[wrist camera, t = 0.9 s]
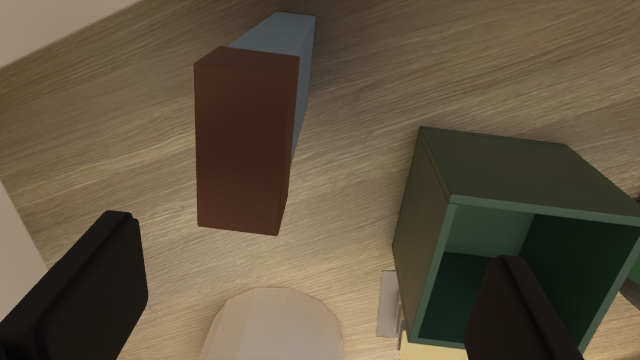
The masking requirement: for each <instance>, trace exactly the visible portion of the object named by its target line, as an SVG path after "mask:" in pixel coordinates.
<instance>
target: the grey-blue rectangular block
mask: <svg viewBox="0 0 640 360" xmlns="http://www.w3.org/2000/svg"><path fill="white" fill-rule="evenodd" d="M315 22H316V17H315V16H309V15H301V14H293V13H285V12H278V11H277V12H275V13H274V14H272V15H271V16H269V17H268V18H266V19H265V20H263V21H262V22H261V23H259V24H258V25H256V26H255V27H253V28H252V29H251V30H249V31H248V32H246V33H245V34H243V35H242V36H240V37H239V38H238V39H236V40H235V41H233V42H232V43H230V44H229V45H228V46H226V47H231V48H239V49H247V50H255V51H263V52H271V53H279V54H287V55H295V56H299V57H300V65H299V76H298V87H297V98H296V109H295V120H294V132H293V143H292V154H291V163H292V160H293V156H294V152H295V148H296V145H297V141H298V137H299V134H300V130H301V126H302V123H303V119H304V115H305V111H306V108H307V100H308V90H309V81H310V71H311V61H312V52H313V42H314V32H315ZM290 167H291V165H290Z"/></svg>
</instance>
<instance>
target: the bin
mask: <svg viewBox="0 0 640 360" xmlns="http://www.w3.org/2000/svg"><path fill="white" fill-rule="evenodd" d="M392 250H393V256H394V262H395V268H396V274H397V280H398V286H399V293H400V299H401V305H402V311H403V317H404V323H405V329H406V335H407V341H408V343H414V344H422V345H430V346H438V347H446V348H454V349H462V350H466V349H465V346H464V341H463V334H464V329H465V326H466V323H467V321H468V318H469V315H470V313H471V310H472V307H473V304H474V302H475V299H476V296H477V293H478V291H479V288H480V285H481V283H482V280H483V277H484V274H485V272H486V269H487V266H488V263H489V261H490V260H491V259H496V258H497V256H498V255H501V254H502V255H511V256H520V257H523V258H524V259H525V260H526V262H527V263H528V265H529V267H530V269H531V270H532V272H533V274H534V276H535V277H536V279H537V281H538V283H539V284H540V286H541V288H542V290H543V291H544V293H545V295H546V297H547V298H548V300H549V302H550V304H551V305H552V307H553V309H554V310H555V312H556V314H557V315H558V316H559V317H560V319H561V320H562V322H563V324H564V326H565V327H566V329H567V331H568V332H569V334H570V336H571V338H572V339H573V341H574V343H575V345H576V346H577V348H578V350H579V352H580V353H581V355H583V353H584V351H585V349H586V348H587V346H588V344H589V342H590V341H591V339H592V337H593V335H594V334H595V332H596V330H597V328H598V326H599V325H600V323H601V321H602V319H603V318H604V316H605V314H606V312H607V311H608V309H609V307H610V305H611V304H612V302H613V300H614V298H615V297H616V295H617V293H618V291H619V290H620V288H621V286H622V284H623V283H624V281H625V279H626V277H627V275H628V274H629V272H630V270H631V268H632V267H633V265H634V263H635V261H636V260H637V258H638V256H639V254H640V205H639V204H638V203H637V202H636V201H634V200H633V199H632V198H631V197H629V196H628V195H627V194H626V193H625V192H623V191H622V190H621V189H620V188H618V187H617V186H616V185H615V184H614V183H612V182H611V181H610V180H609V179H607V178H606V177H605V176H604V175H603V174H601V173H600V172H599V171H598V170H597V169H595V168H594V167H593V166H592V165H590V164H589V163H588V162H587V161H586V160H584V159H583V158H582V157H581V156H579V155H578V154H577V153H576V152H575V151H573V150H572V149H571V148H569V147H568V146H567V145H564V144H556V143H548V142H540V141H532V140H524V139H516V138H509V137H501V136H493V135H485V134H477V133H469V132H461V131H453V130H445V129H437V128H429V127H421V126H420V128H419V133H418V137H417V141H416V145H415V150H414V154H413V158H412V162H411V167H410V171H409V175H408V180H407V184H406V188H405V192H404V197H403V201H402V205H401V209H400V214H399V218H398V222H397V227H396V231H395V235H394V239H393V244H392Z"/></svg>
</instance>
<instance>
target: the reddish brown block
mask: <svg viewBox="0 0 640 360" xmlns="http://www.w3.org/2000/svg"><path fill="white" fill-rule="evenodd" d="M299 65H300V57H299V56H295V55H287V54H279V53H271V52H263V51H255V50H247V49H239V48H231V47H224V46H220V47H218V48H216V49H215V50H213V51H212V52H210V53H209V54H207V55H206V56H204V57H203V58H201V59H200V60H198V61H197V62H195V63H194V91H195V134H196V178H197V222H198V226H199V227H207V228H215V229H224V230H232V231H240V232H248V233H256V234H264V235H272V236H277V235H278V233H279V229H280V225H281V221H282V217H283V213H284V209H285V205H286V201H287V197H288V187H289V176H290V165H291V154H292V143H293V132H294V120H295V109H296V98H297V87H298V76H299Z"/></svg>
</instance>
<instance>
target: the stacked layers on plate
mask: <svg viewBox="0 0 640 360" xmlns="http://www.w3.org/2000/svg"><path fill="white" fill-rule="evenodd" d="M377 337H393V338H398V344H397V349H398V350H399V351H400V356H399V360H468V356H467V353H466V350H462V349H454V348H446V347H438V346H430V345H422V344H414V343H408V341H407V335H406V329H405V323H404V317H403V311H402V305H401V299H400V293H399V286H398V280H397V274H396V272H394V271H382V279H381V291H380V302H379V314H378V326H377Z"/></svg>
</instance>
